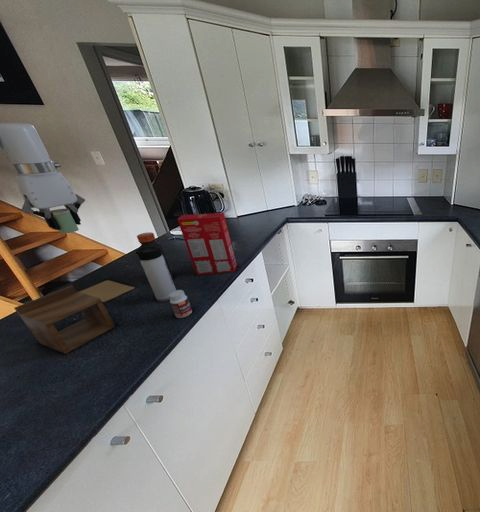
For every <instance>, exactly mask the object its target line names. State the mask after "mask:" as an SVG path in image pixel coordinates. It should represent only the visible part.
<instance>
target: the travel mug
mask: <svg viewBox="0 0 480 512" xmlns="http://www.w3.org/2000/svg"><path fill="white" fill-rule="evenodd" d="M135 254H136V255H137V257H138V259H139V261H140V264H141V266H142V269H143V272H144V273H145V277H146V278H147V280H148V283H149V286H150V287H151V290H152V292H153V294H154V297H155V299H156V301H157V302H167V301H170V297H169V294H170V293H171V292H173V291H177V289H176V286H175V283H174V281H173V279H172V278H171V275H170V273H169V270H168V268H167V265H166V262H165V260H164V257H163V255H162V253H161V250H160V248H159V247H158V248H157V247H146V248H141V249H139V248H138V249H136V250H135Z"/></svg>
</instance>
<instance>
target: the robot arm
mask: <svg viewBox="0 0 480 512" xmlns="http://www.w3.org/2000/svg"><path fill="white" fill-rule="evenodd" d="M0 150H4V151H5V153H6V154H7V156H8V158H9V160H10V162H11V163H12V165H13V167H14V169H15V171H16V172H17V174H15V175H14V178H15V182H16V185H17V188H18V190H19V193H20V195H21V198H22V200H23V205H22V207H21V209H20V211H21V212H22V213H26V214H31V215H34V216H38V217H40V218H43V219H44V221H45V223H46V224H47V226H48V227H49V228H50V229H51V230H55V231H58V230H60V227H59V225H58V223H57V221H56V219H55V218H53V217H52V216H51V213H50V211H51V209H52V208H56V207H61V206H62V207H63V206H64V208H65V209H69V210H70V213H71V215H72V217H73V219H74V221H75V223H76V225H77V226H81V225H82V223H81V221H82V220H81V218H80V216H79V213H78V212H79V209H80V208H81V206H82V205H83V203H85V202H86V199H85V198H84V197H82V196H80V195H79V194H77V193H75V191H74V190H73V188H72V186H71V185H70V183H69V181H68V180H67V178H65V176H64V175H63V174H62V173H61V172H60V171H58V168H61V164H60V163H59V162H54V161H53V160H52V158H51V157H50V155H49V153H48V151H47V149H46V147H45V145H44V142H43V141H42V139H41V137H40V135H39V133H38V131H37V130H36V128H35V127H34V125H32V124H30V123H27V122H0ZM35 209H38V210H35Z"/></svg>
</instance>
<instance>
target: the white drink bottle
mask: <svg viewBox="0 0 480 512" xmlns="http://www.w3.org/2000/svg"><path fill="white" fill-rule="evenodd" d="M136 238H137V241H138V242H139V244H140V246H139V248H138V249H141V248H146V247H157V248H158V247H159V248H160V250H161V253H162V255H163V257H164V260H165V262H166V265H167V268H168V270H169V273H170V275H171V278H172V280H173V279H174V275H173V272H172V270H171V267H170V265H169V262H168V259H167V256H166V254H165V251H164V249H163V246H162V244H161V243H159V242H157V241H156V236H155V233H154V232H151V231H149V232H148V231H147V232H142V233H139V234H136Z"/></svg>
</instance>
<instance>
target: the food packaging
mask: <svg viewBox="0 0 480 512" xmlns="http://www.w3.org/2000/svg"><path fill="white" fill-rule="evenodd" d="M177 222H178V225H179V228H180V232H181V234H182V237H183V240H184V243H185V247H186V248H187V252H188V256H189V257H190V260H191V263H192V266H193V269H194V273H195V275H196V276H201V275H211V274H212V275H213V274H223V273H234V272H235V271H236V270H237V268H238V263H237V260H236V256H235V252H234V247H233V244H232V240H231V235H230V231H229V228H228V224H227V220H226V216H225V213H224V212H215V213H214V212H212V213H197V214H182V215H181V216H180V217H178V218H177Z"/></svg>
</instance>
